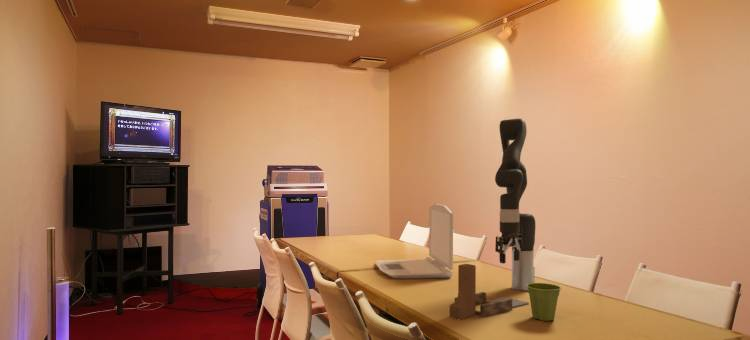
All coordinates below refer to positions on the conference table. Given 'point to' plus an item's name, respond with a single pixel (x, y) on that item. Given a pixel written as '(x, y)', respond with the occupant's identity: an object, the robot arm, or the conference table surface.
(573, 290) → the conference table surface
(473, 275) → the wooden block
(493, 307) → the wooden frame
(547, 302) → the plant pot
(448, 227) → the laptop
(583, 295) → the conference table surface
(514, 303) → the pad
